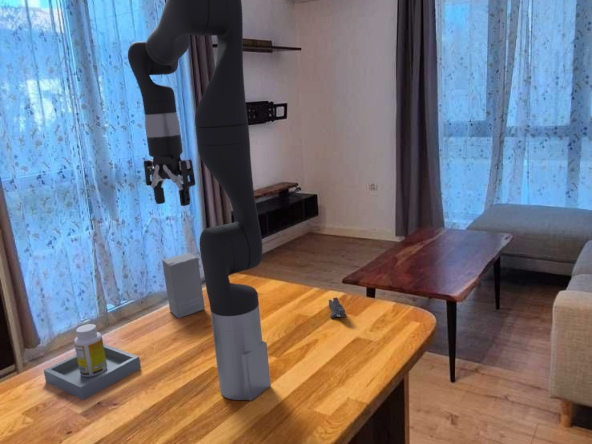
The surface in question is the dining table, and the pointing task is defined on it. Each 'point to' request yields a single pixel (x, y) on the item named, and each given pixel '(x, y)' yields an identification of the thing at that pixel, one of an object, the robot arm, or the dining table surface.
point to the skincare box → (183, 284)
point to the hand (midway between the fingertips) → (172, 204)
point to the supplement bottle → (90, 351)
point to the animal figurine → (336, 308)
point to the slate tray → (84, 387)
